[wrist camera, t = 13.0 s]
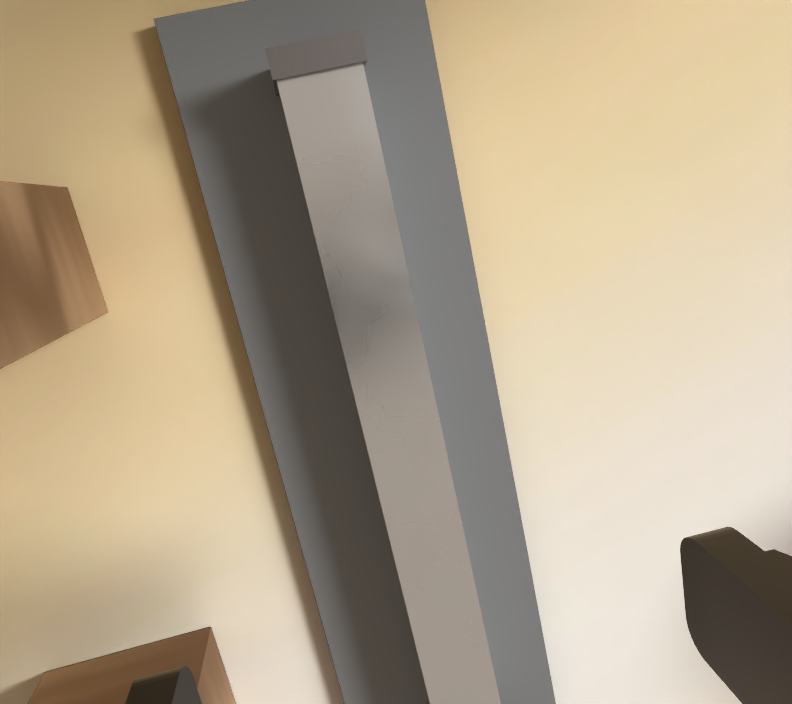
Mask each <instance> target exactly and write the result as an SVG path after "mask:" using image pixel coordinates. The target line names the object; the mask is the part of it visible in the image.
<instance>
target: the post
mask: <svg viewBox="0 0 792 704" xmlns="http://www.w3.org/2000/svg"><path fill="white" fill-rule="evenodd" d="M107 312H108V310H107V307H106V304H105V301H104V298H103V295H102V292H101V289H100V286H99V283H98V280H97V277H96V274H95V271H94V268H93V265H92V262H91V258H90V255H89V252H88V249H87V246H86V243H85V240H84V237H83V234H82V231H81V228H80V225H79V222H78V219H77V216H76V213H75V210H74V207H73V203H72V200H71V197H70V194H69V191H68V188H67V187H56V186H46V185H35V184H25V183H14V182H4V181H0V369H1V368H3V367H4V366H6V365H8V364H10V363H12V362H14V361H16V360H18V359H20V358H22V357H23V356H25V355H27V354H29V353H31V352H33V351H35V350H37V349H39V348H41V347H42V346H44V345H46V344H48V343H50V342H52V341H54V340H56V339H58V338H60V337H62V336H63V335H65V334H67V333H69V332H71V331H73V330H75V329H77V328H79V327H81V326H82V325H84V324H86V323H88V322H90V321H92V320H94V319H96V318H98V317H100V316H102V315H103V314H105V313H107Z"/></svg>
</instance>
